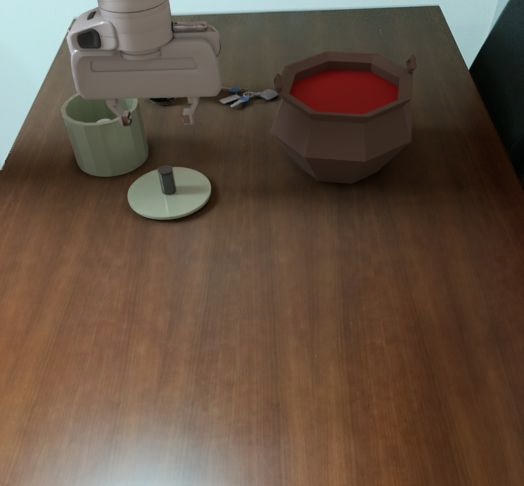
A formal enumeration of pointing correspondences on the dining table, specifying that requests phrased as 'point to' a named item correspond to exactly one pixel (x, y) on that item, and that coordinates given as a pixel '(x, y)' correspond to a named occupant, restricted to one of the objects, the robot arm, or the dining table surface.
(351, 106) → the brown cauldron
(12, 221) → the dining table surface
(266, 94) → the key chain
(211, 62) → the robot arm
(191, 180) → the lid
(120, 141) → the pot
